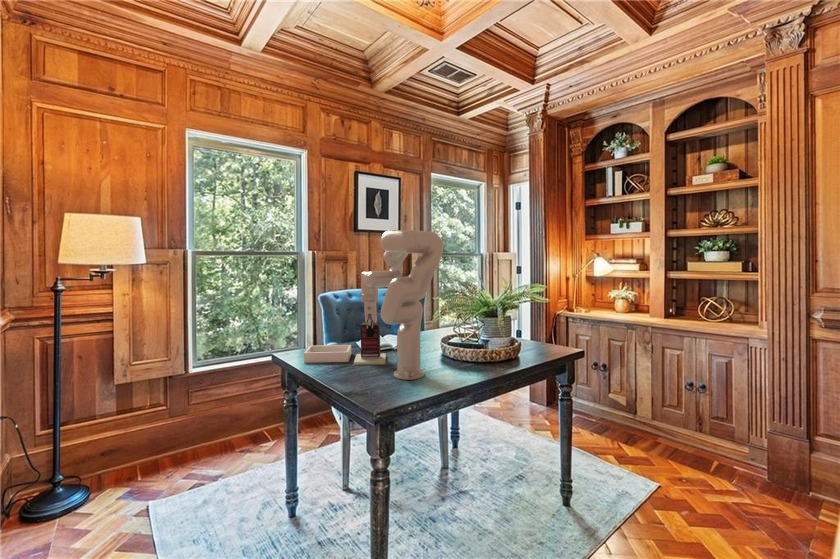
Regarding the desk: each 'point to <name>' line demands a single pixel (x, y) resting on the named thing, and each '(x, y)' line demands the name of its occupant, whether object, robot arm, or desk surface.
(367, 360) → the board
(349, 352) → the bin
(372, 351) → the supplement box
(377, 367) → the desk surface
